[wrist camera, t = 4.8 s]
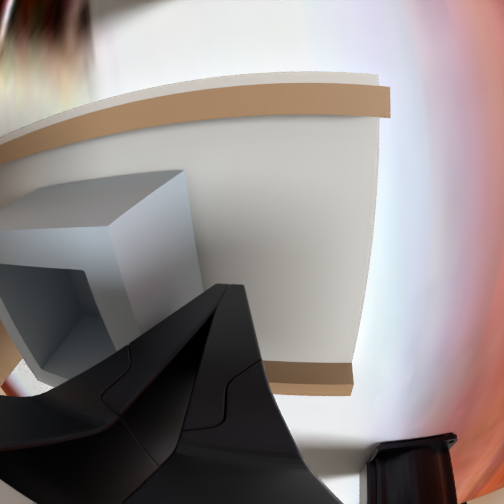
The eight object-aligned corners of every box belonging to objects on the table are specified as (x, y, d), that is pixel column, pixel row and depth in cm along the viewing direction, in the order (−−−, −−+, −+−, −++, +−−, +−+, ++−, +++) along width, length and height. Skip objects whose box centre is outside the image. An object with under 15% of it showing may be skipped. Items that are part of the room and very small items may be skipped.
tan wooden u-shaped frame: (370, 77, 8) (460, 55, 3) (346, 363, 13) (350, 480, 8) (-28, 153, 11) (-106, 192, 6) (30, 323, 17) (-19, 380, 12)
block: (184, 170, 9) (107, 226, 5) (212, 337, 12) (179, 424, 8) (40, 188, 10) (-37, 233, 6) (84, 319, 13) (38, 380, 9)
